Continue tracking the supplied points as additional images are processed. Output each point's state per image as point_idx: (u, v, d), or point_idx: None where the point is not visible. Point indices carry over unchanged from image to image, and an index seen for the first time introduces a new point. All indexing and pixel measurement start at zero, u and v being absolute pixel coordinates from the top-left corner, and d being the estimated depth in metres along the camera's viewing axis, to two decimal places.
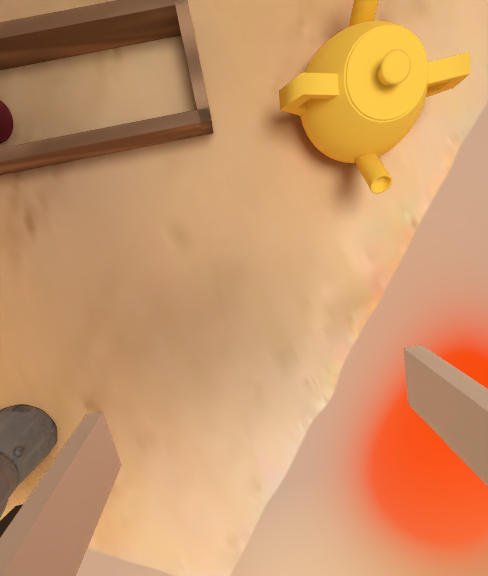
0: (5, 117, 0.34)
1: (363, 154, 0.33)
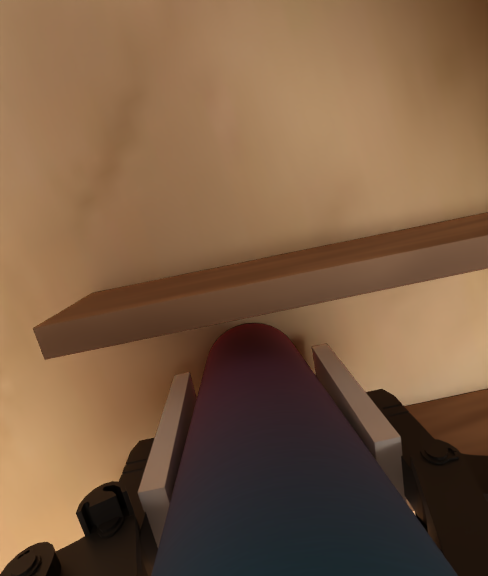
0: None
1: None
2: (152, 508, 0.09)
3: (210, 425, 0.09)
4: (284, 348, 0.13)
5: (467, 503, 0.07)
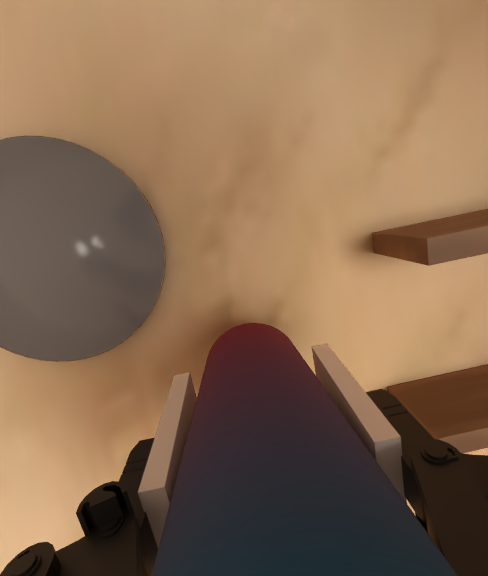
0: None
1: None
2: (152, 508, 0.09)
3: (210, 425, 0.09)
4: (284, 348, 0.13)
5: (466, 503, 0.07)
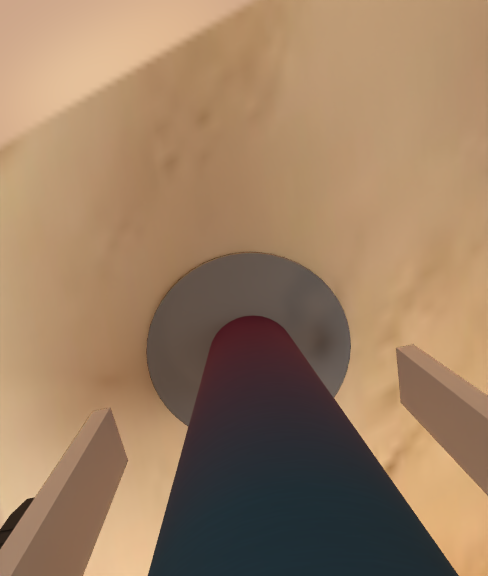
0: None
1: None
2: None
3: (213, 400, 0.10)
4: (280, 337, 0.15)
5: None
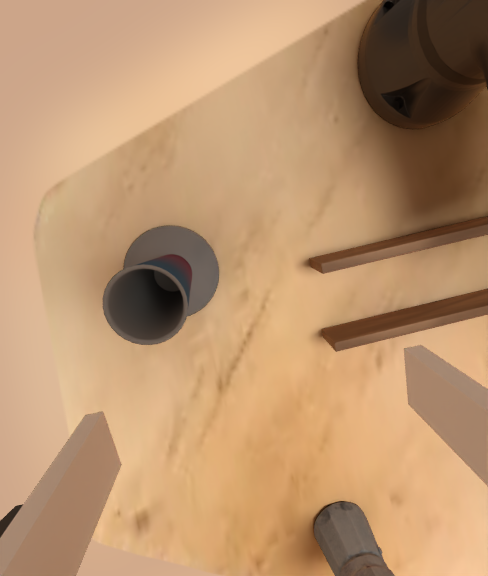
0: None
1: None
2: None
3: None
4: (176, 257, 0.36)
5: None
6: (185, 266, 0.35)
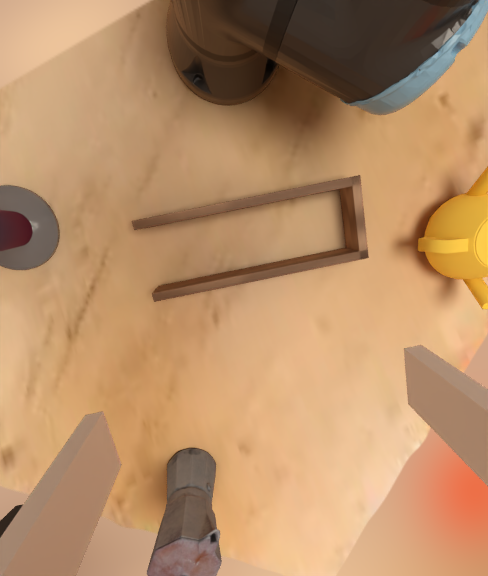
0: (27, 230, 0.44)
1: (473, 279, 0.46)
2: None
3: None
4: (3, 211, 0.42)
5: None
6: (5, 218, 0.40)
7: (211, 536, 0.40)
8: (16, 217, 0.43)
